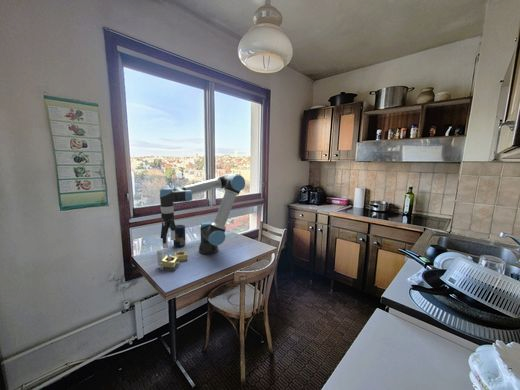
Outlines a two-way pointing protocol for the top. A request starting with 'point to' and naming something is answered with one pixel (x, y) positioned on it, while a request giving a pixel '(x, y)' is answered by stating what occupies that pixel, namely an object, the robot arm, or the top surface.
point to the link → (169, 262)
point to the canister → (179, 236)
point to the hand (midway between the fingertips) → (169, 243)
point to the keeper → (159, 256)
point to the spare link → (181, 255)
